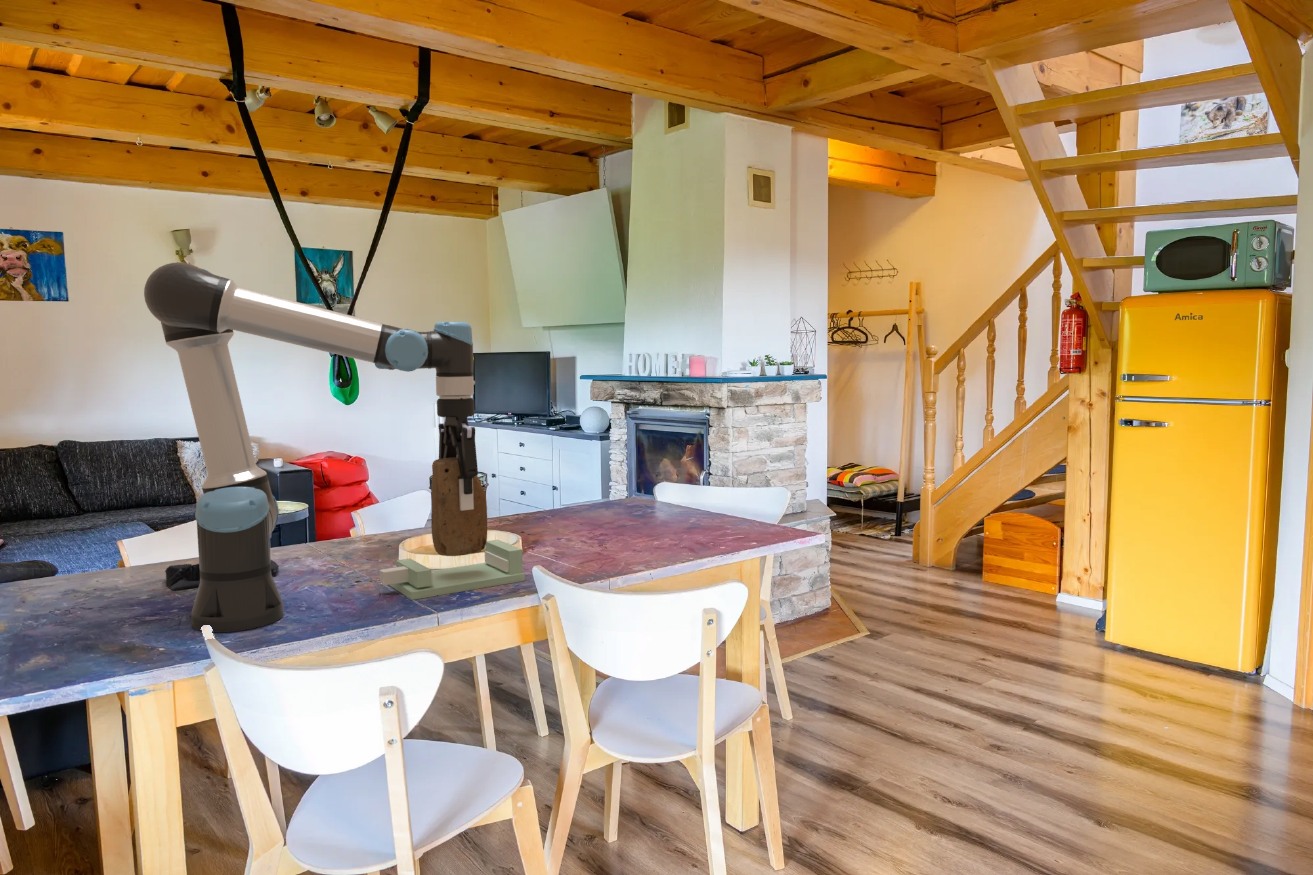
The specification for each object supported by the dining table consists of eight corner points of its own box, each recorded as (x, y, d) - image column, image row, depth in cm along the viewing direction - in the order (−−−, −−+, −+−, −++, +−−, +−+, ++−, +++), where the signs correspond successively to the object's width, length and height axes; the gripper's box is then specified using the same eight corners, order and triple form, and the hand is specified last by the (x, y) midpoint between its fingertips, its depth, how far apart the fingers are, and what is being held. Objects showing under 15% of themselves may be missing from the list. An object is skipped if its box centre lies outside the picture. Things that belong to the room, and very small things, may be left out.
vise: (411, 599, 172) (410, 567, 171) (388, 584, 183) (387, 553, 183) (525, 580, 186) (524, 550, 185) (496, 567, 197) (496, 538, 197)
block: (438, 559, 179) (435, 461, 177) (430, 551, 185) (427, 457, 183) (490, 553, 184) (488, 458, 182) (480, 545, 190) (478, 454, 188)
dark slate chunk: (282, 580, 189) (281, 559, 188) (164, 594, 178) (163, 571, 178) (276, 565, 202) (275, 545, 202) (166, 577, 192) (165, 556, 191)
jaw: (391, 592, 171) (391, 575, 170) (372, 579, 180) (372, 563, 180) (434, 585, 176) (433, 569, 175) (413, 572, 185) (412, 557, 185)
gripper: (493, 398, 175) (496, 512, 177) (453, 394, 192) (456, 498, 194) (457, 400, 171) (461, 516, 173) (420, 395, 187) (423, 501, 190)
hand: (458, 506), depth 184 cm, fingers closed on block, 8 cm apart
